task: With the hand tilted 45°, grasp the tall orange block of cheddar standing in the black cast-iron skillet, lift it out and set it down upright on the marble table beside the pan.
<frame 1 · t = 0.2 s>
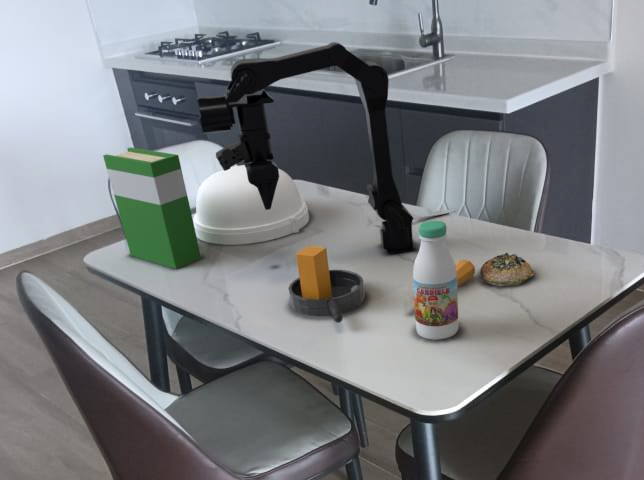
hand: (266, 203, 158), 15 cm above the table, tool pointing down, fingers open, 9 cm apart
pan: (328, 301, 147), on the table
pan handle: (336, 324, 138), resting on pan
cheese: (318, 306, 145), resting on pan
carrot: (440, 295, 147), on the table
hardback book: (165, 257, 176), on the table
milk bottle: (437, 331, 133), on the table
fork: (417, 222, 184), on the table
dome cover: (252, 224, 192), on the table
bread roll: (506, 277, 151), on the table
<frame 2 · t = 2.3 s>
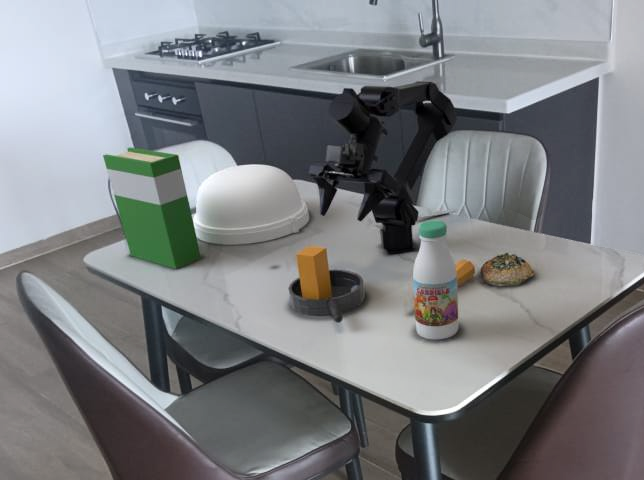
hand: (340, 218, 148), 14 cm above the table, tool tilted 40°, fingers open, 9 cm apart
nothing on the table moved.
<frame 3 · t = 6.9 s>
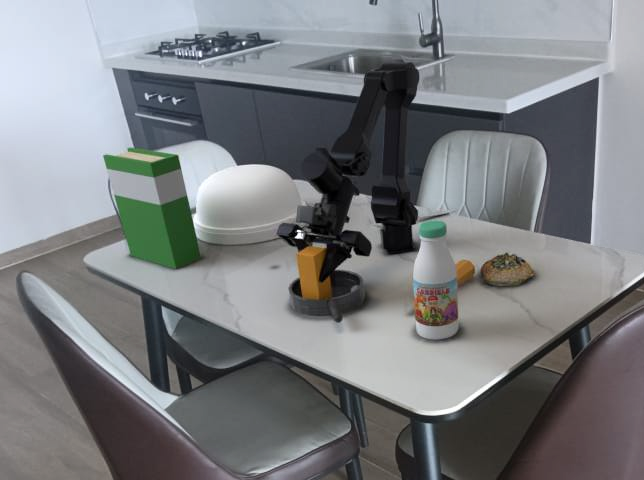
hand: (310, 280, 141), 7 cm above the table, tool tilted 45°, fingers closed on cheese, 4 cm apart
cheese: (318, 306, 145), point 1 cm above the table, touching gripper, pan
everything else where it was.
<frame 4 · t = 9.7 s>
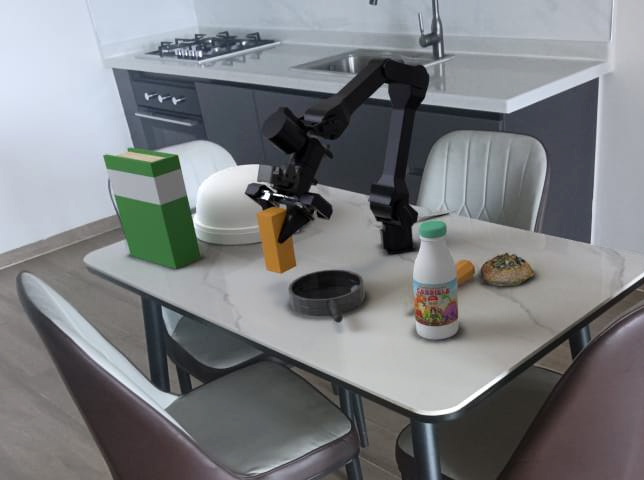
hand: (271, 241, 141), 13 cm above the table, tool tilted 45°, fingers closed on cheese, 4 cm apart
cheese: (281, 268, 145), point 7 cm above the table, touching gripper
everything else where it was.
when the fingers open (6 cm above the table, at t = 12.9 s): cheese stays where it is, on the table.
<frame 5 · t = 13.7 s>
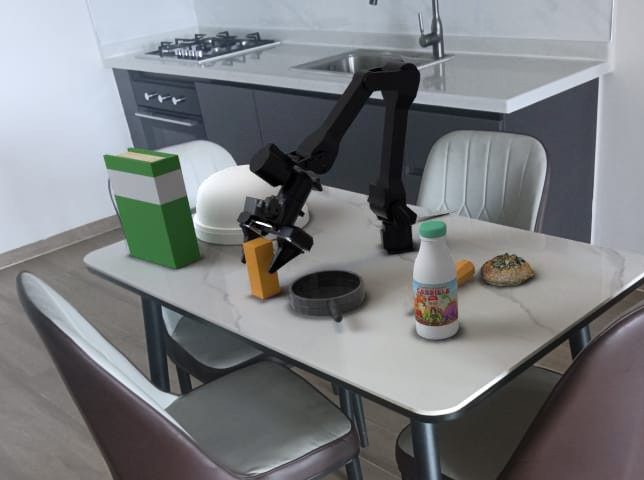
hand: (255, 268, 148), 6 cm above the table, tool tilted 45°, fingers open, 9 cm apart
cheese: (266, 295, 152), on the table
everything else where it was.
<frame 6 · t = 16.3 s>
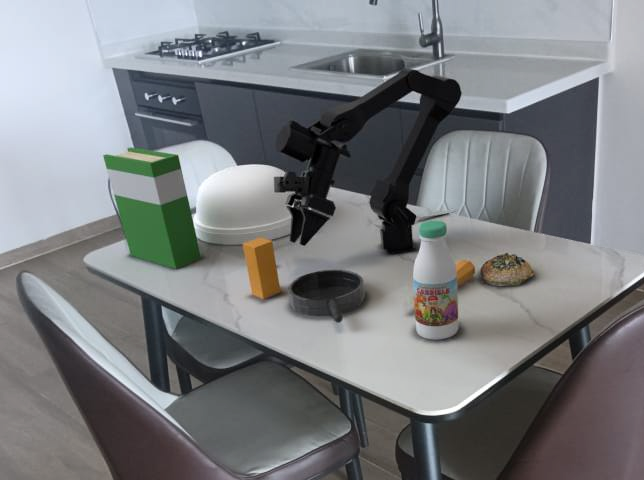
hand: (297, 243, 154), 8 cm above the table, tool tilted 35°, fingers open, 9 cm apart
nothing on the table moved.
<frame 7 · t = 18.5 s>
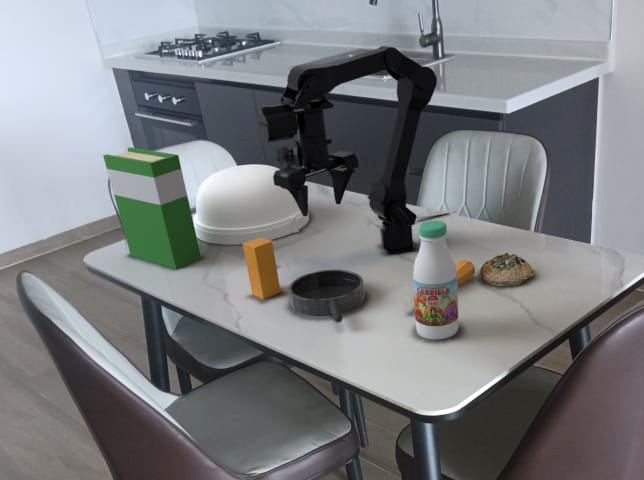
hand: (322, 209, 156), 13 cm above the table, tool pointing down, fingers open, 9 cm apart
nothing on the table moved.
at the end: cheese inside the target area (0.1 cm from its centre), on the table; cheese touching table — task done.
